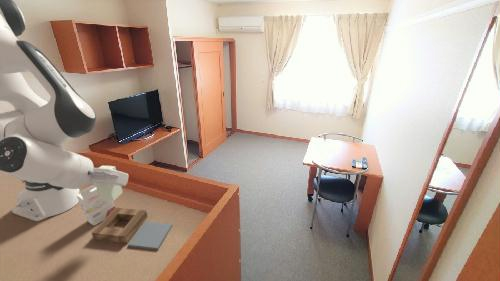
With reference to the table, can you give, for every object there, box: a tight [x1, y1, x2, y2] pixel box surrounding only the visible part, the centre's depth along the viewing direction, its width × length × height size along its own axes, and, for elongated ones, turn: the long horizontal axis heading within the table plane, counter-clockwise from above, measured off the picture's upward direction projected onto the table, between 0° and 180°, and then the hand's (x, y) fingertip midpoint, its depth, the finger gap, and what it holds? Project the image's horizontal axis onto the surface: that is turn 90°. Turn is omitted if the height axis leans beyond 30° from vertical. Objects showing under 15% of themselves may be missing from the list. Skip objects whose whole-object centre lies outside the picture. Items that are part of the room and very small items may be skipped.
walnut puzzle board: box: [91, 207, 148, 244], centre depth 80 cm, size 12×12×3 cm
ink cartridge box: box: [77, 184, 116, 226], centre depth 82 cm, size 9×5×15 cm, turn 148°
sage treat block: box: [94, 165, 123, 202], centre depth 73 cm, size 4×4×10 cm
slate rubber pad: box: [127, 220, 173, 251], centre depth 77 cm, size 10×10×1 cm
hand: (109, 180), depth 73 cm, fingers closed on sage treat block, 4 cm apart
